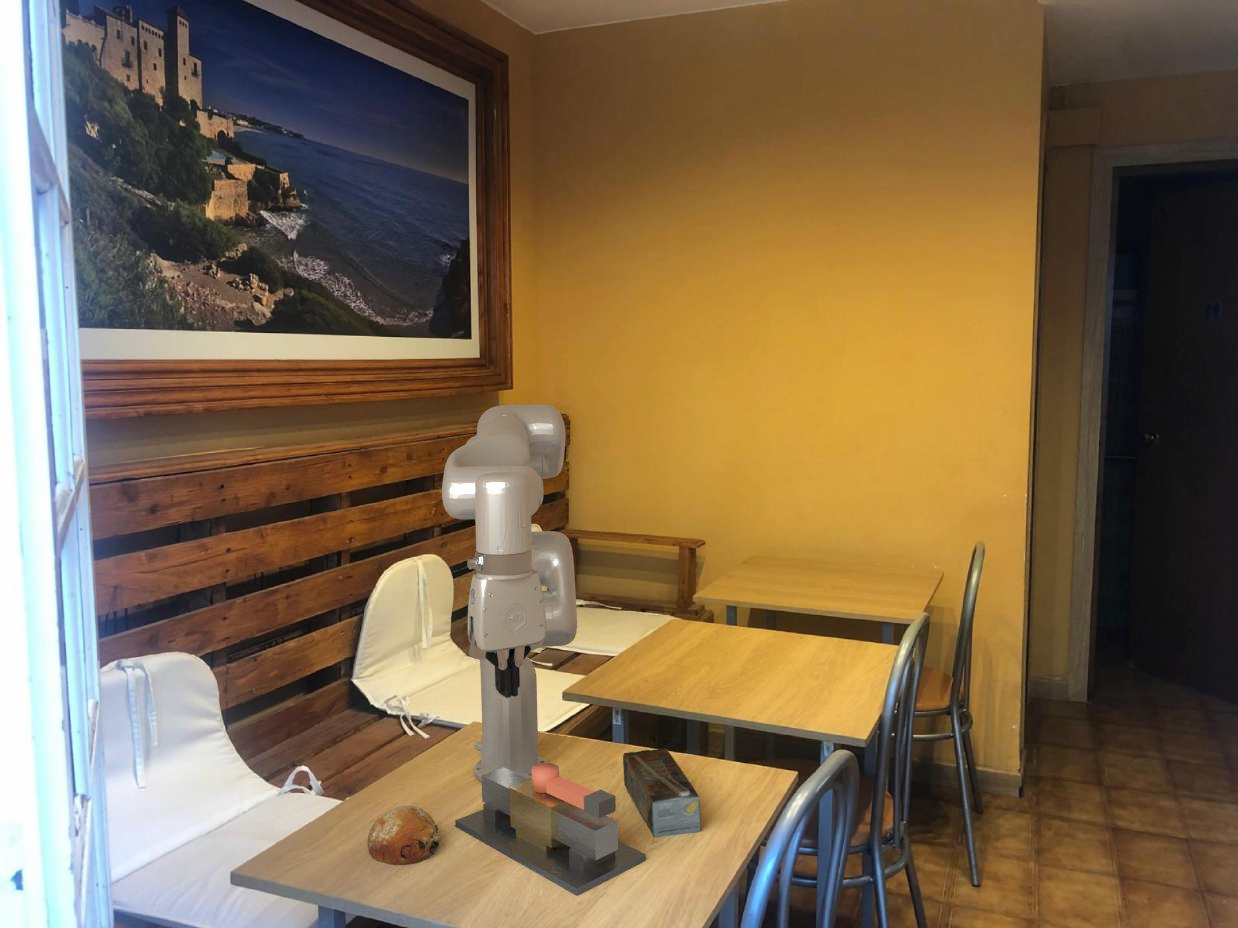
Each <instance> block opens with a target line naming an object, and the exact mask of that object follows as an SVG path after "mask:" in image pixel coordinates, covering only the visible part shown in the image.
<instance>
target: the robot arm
mask: <svg viewBox="0 0 1238 928" xmlns="http://www.w3.org/2000/svg"><path fill="white" fill-rule="evenodd" d="M565 448H566V425H565V421H564V419H563V417H562V414H561V413H560V411H559V410H558V409H557V408H556V407H554V406H553V405H550V404H545V403H544V404H503V405H501V404H500V405H497V406H493V407H490V408H488V409H487V410H485V411H484V412H483V413H482V414H481V416H480V418H479V419H478V422H477V428H476V435H474V436H472V437H471V438H469V439H468V440H467V441H466V443H465V444H464V445H461V446H460V447H459V448H456V449H455V450H454V451H452V452H451V454H450V455H449V456H448V458H447V460H446V462H445V466H444V470H443V477H442V486H441V498H442V505H443V507H444V510H445V511H446V513H447V514H448V515H449V516H450V517H451V518H454V519H457V520H474V521H475V551H476V552H474V557H473V558H472V559H471V558H469V559H467V565H466V566H467V569H469V570H474V571H475V572H476V573H475V574H472V578H471V582H470V589H469V594H468V605H467V637H468V643H470V645H469V650H468V656H469V657H471V658H473V660H479V667H480V695H481V697H480V698H481V700H480V701H481V727H482V728H481V729H482V733H481V737H480V741H476V742H475V743H474V746H473V749H475V750H477V751H479V752H480V759H479V760H478V761H477V762H476V764H475V765H474V768H473V769H474V773H473V774H474V776H475V778H476V779H477V780H479V781H480V782H482V776H481V775H484V774H487V773H489V772H492V771H495V770H497V769H500V768H506V769H508V770H510V771H512V772H514V773H516V774H518V775H521V776H523V777H525V778H527V779H529V780H531V779H532V767H533V766H535V765H537V764H541V763H548V762H547V760H546V759H545V758H544V757H543V756H541V755H539V730H538V723H539V722H538V720H539V719H538V686H537V685H538V682H537V678H538V677H537V671H536V669H535V666H534V664H533V663H532V661H531V659H530V658H529V657H528V655H529V654H530V652H533V651H535V650H538V649H539V648H549V647H551V648H552V647H563V646H567V645H569V644H571V643H572V642H573V641H574V640H575V638H576V635H577V632H578V631H577V629H578V611H577V596H576V595H577V594H576V593H577V592H576V580H575V579H576V578H575V561H574V553H573V548H572V544H571V542H570V539H569V538H568V537H567V535H566V534H564V533H562V532H560V531H553V530H542V531H541V530H540V531H538V530H537V531H532V516H533V515H534V514H536V512H537V511H538V510H539V508H540V507H541V505H543V502H544V501H543V500H544V494H545V493H544V481H543V480H544V479H545V480H546V479H551V478H555V477H557V476H559V474H560V473H561V472H562V469H563V466H564V461H565V459H564V458H565ZM542 586H543V587H546V588H547V589H548V590H543V588H542Z"/></svg>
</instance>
